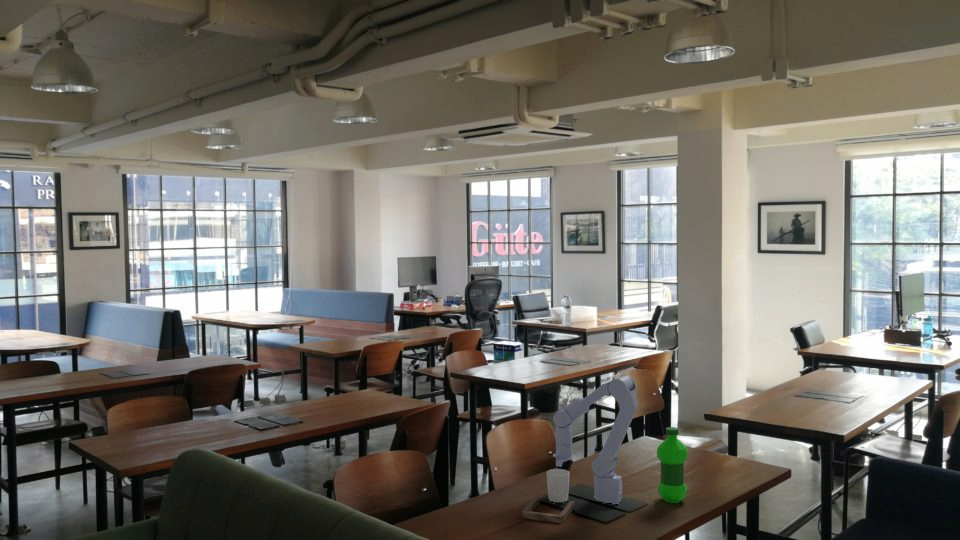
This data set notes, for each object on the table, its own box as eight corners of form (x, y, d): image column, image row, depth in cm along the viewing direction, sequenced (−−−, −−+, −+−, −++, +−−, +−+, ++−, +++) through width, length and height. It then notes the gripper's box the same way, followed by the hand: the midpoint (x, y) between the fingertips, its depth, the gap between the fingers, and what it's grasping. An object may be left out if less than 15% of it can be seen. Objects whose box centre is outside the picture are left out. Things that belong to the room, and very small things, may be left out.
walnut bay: (574, 507, 262) (574, 501, 262) (562, 523, 247) (562, 517, 247) (535, 502, 267) (534, 496, 267) (520, 518, 252) (520, 511, 252)
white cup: (568, 505, 264) (568, 476, 263) (545, 503, 265) (545, 475, 265) (570, 497, 272) (570, 469, 271) (548, 496, 273) (547, 468, 273)
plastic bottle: (688, 497, 270) (688, 426, 269) (686, 507, 260) (686, 433, 259) (659, 494, 274) (658, 424, 273) (655, 504, 264) (655, 431, 263)
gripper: (558, 437, 284) (559, 473, 284) (547, 447, 270) (547, 485, 271) (577, 438, 281) (577, 475, 282) (567, 449, 267) (567, 488, 268)
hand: (564, 481), depth 276 cm, fingers closed
